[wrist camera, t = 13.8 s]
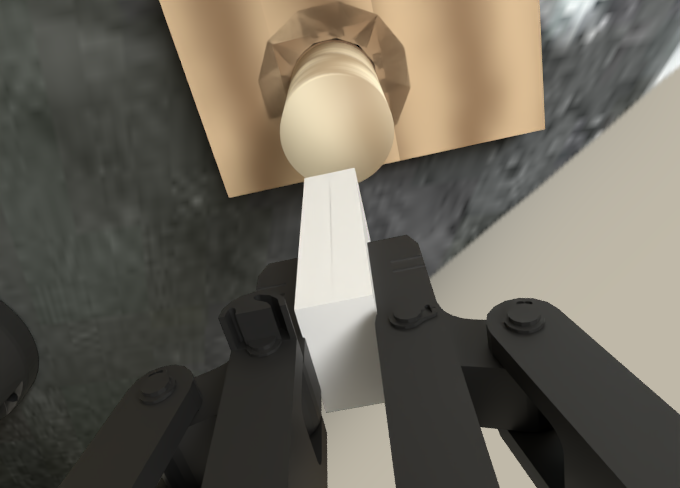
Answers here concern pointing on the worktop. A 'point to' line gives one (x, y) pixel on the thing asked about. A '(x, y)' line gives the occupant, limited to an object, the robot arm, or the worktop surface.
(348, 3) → the board
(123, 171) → the worktop surface
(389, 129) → the peg
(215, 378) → the robot arm
